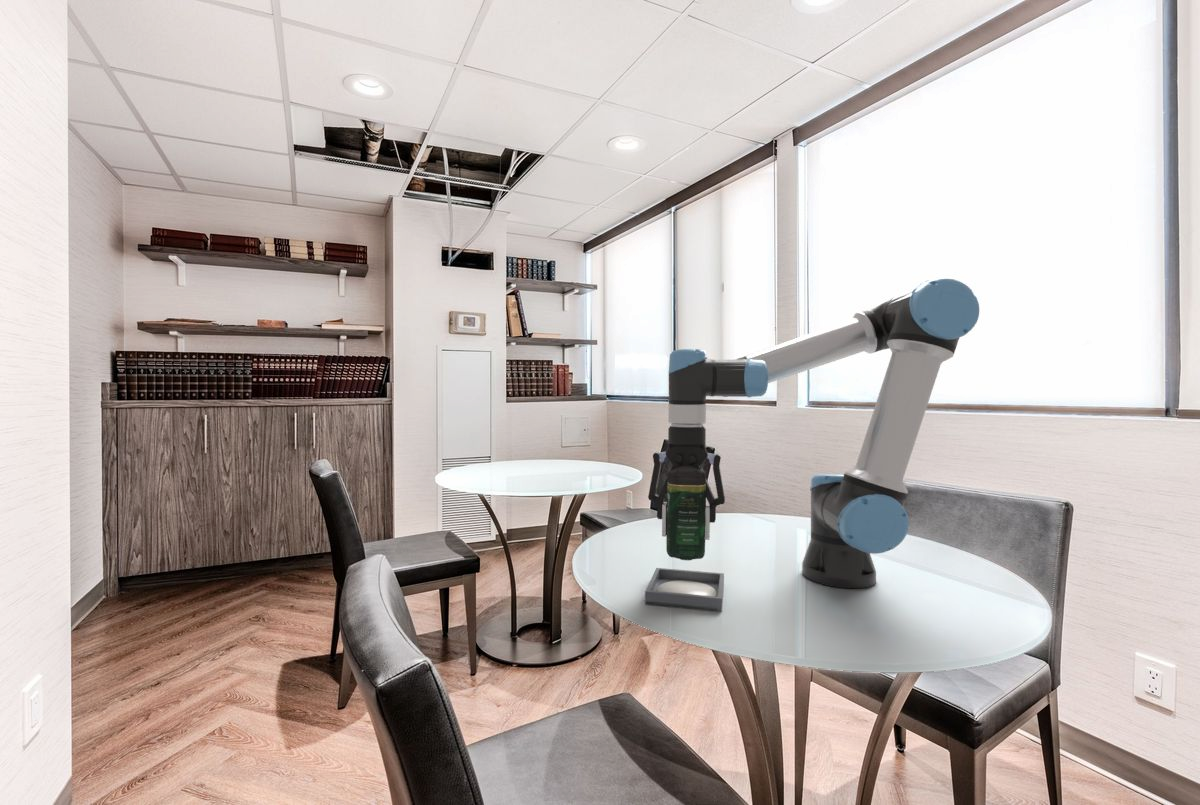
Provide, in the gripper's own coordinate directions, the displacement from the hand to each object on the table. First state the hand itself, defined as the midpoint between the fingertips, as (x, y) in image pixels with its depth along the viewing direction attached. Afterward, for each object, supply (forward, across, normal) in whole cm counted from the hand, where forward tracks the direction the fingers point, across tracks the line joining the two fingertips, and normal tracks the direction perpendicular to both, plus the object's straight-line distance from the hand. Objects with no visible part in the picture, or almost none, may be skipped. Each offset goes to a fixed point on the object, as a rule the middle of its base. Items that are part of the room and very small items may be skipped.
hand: (686, 536), depth 109 cm
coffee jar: (+4, 0, 0) cm, 4 cm away
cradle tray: (+12, 0, 0) cm, 12 cm away
